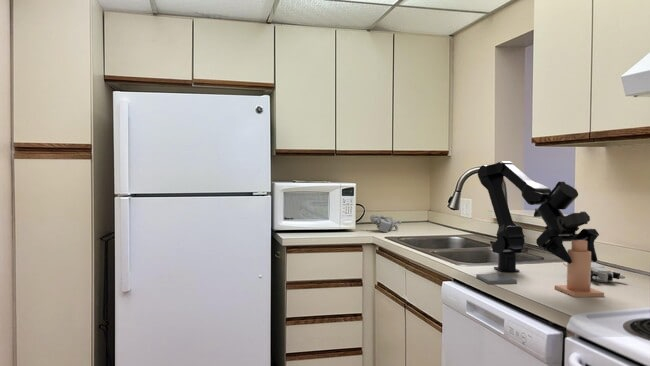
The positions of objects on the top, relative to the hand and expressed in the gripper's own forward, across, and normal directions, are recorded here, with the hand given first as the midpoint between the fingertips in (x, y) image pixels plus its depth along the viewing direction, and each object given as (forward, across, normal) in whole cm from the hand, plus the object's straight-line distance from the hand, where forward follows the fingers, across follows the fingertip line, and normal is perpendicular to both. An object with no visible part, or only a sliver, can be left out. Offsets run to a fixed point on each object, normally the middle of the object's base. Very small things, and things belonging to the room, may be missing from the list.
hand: (583, 262), depth 132 cm
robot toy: (-3, +19, +17) cm, 26 cm away
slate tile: (-8, -14, +21) cm, 26 cm away
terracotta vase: (+5, 0, +7) cm, 8 cm away
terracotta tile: (+5, 0, +7) cm, 9 cm away
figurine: (-90, +3, +104) cm, 137 cm away
